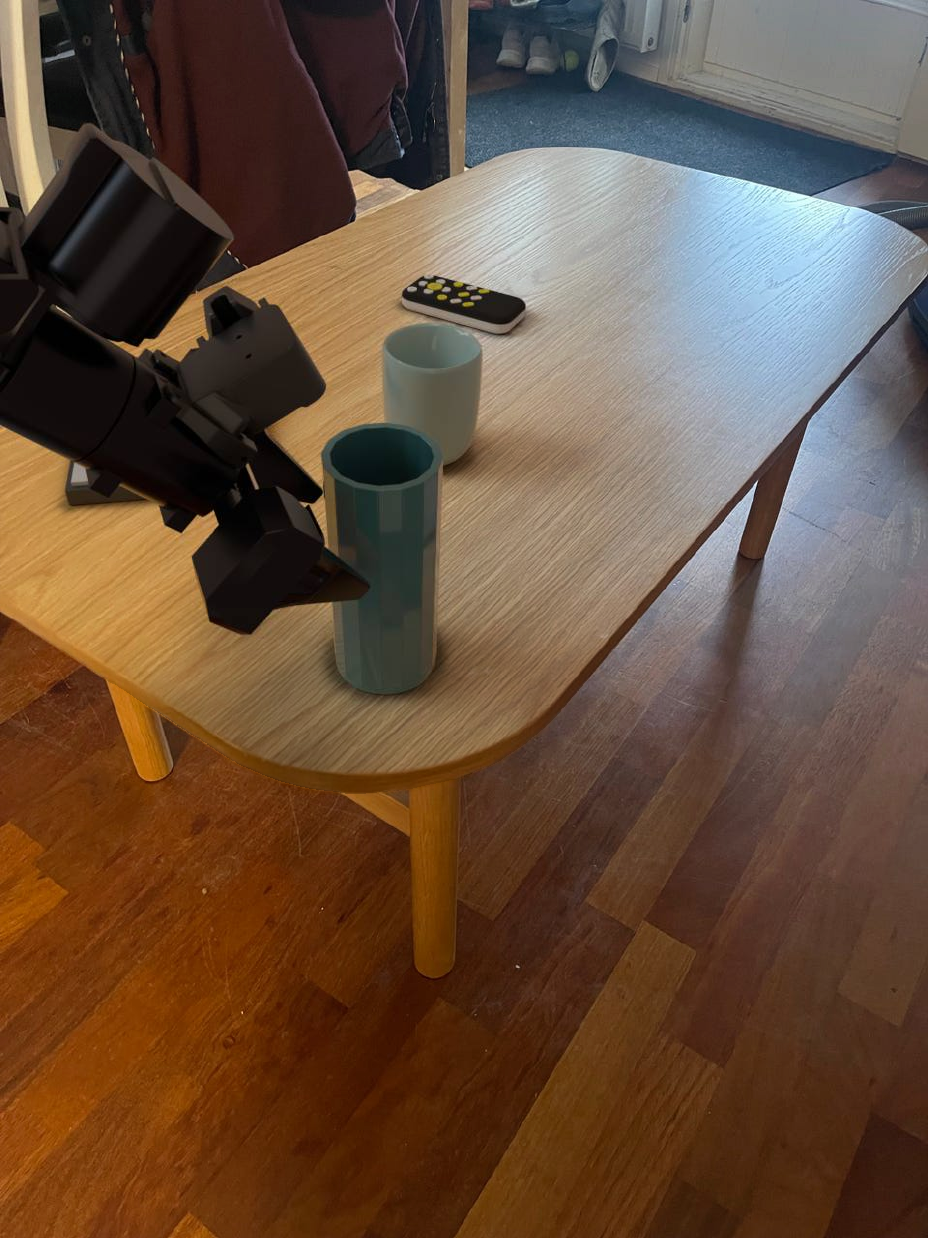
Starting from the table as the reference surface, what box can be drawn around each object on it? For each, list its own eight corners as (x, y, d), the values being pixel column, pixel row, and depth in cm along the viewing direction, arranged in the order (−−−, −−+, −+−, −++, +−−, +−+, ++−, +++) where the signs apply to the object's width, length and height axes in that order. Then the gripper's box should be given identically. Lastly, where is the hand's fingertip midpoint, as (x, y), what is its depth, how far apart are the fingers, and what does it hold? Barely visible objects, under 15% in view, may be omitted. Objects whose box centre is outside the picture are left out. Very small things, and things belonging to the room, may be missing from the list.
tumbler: (341, 700, 60) (327, 495, 49) (331, 628, 65) (316, 426, 54) (443, 688, 61) (452, 485, 50) (426, 619, 66) (431, 418, 55)
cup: (366, 448, 81) (362, 339, 74) (436, 419, 85) (439, 313, 78) (423, 491, 77) (425, 380, 70) (494, 458, 80) (502, 350, 74)
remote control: (504, 338, 96) (506, 319, 95) (396, 308, 100) (396, 290, 99) (529, 315, 100) (531, 296, 99) (424, 286, 104) (424, 269, 103)
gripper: (252, 371, 35) (501, 539, 46) (167, 195, 48) (380, 361, 59) (83, 576, 38) (354, 688, 49) (44, 361, 51) (268, 489, 62)
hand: (340, 541), depth 55 cm, fingers open, 9 cm apart
